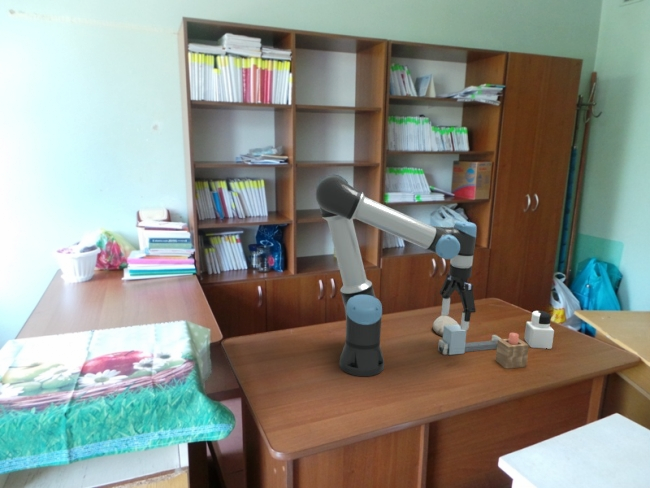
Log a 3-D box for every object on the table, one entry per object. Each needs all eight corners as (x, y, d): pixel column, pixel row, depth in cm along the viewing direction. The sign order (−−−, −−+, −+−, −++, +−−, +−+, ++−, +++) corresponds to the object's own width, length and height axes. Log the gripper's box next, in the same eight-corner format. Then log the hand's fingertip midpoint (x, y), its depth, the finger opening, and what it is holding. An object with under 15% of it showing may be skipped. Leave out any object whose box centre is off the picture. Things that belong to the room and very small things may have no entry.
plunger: (510, 358, 154) (513, 336, 152) (505, 354, 157) (507, 332, 155) (518, 357, 154) (520, 335, 153) (512, 353, 157) (515, 332, 156)
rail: (443, 354, 162) (444, 344, 161) (438, 349, 165) (438, 339, 165) (501, 349, 168) (502, 339, 167) (494, 344, 171) (495, 334, 170)
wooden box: (506, 368, 152) (508, 346, 151) (495, 360, 158) (497, 339, 156) (526, 366, 154) (528, 345, 153) (514, 358, 160) (517, 337, 158)
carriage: (449, 354, 161) (451, 331, 159) (441, 348, 167) (443, 325, 165) (464, 353, 163) (466, 330, 161) (456, 346, 168) (458, 324, 166)
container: (544, 340, 176) (548, 309, 173) (551, 349, 169) (556, 316, 166) (523, 339, 177) (527, 308, 174) (530, 347, 169) (535, 315, 167)
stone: (452, 348, 178) (465, 334, 175) (432, 334, 177) (446, 320, 174) (446, 332, 190) (459, 319, 188) (428, 319, 189) (441, 306, 187)
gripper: (491, 275, 147) (483, 335, 151) (452, 256, 171) (446, 309, 175) (471, 275, 145) (463, 336, 150) (434, 257, 169) (428, 310, 173)
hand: (454, 321), depth 162 cm, fingers open, 13 cm apart
